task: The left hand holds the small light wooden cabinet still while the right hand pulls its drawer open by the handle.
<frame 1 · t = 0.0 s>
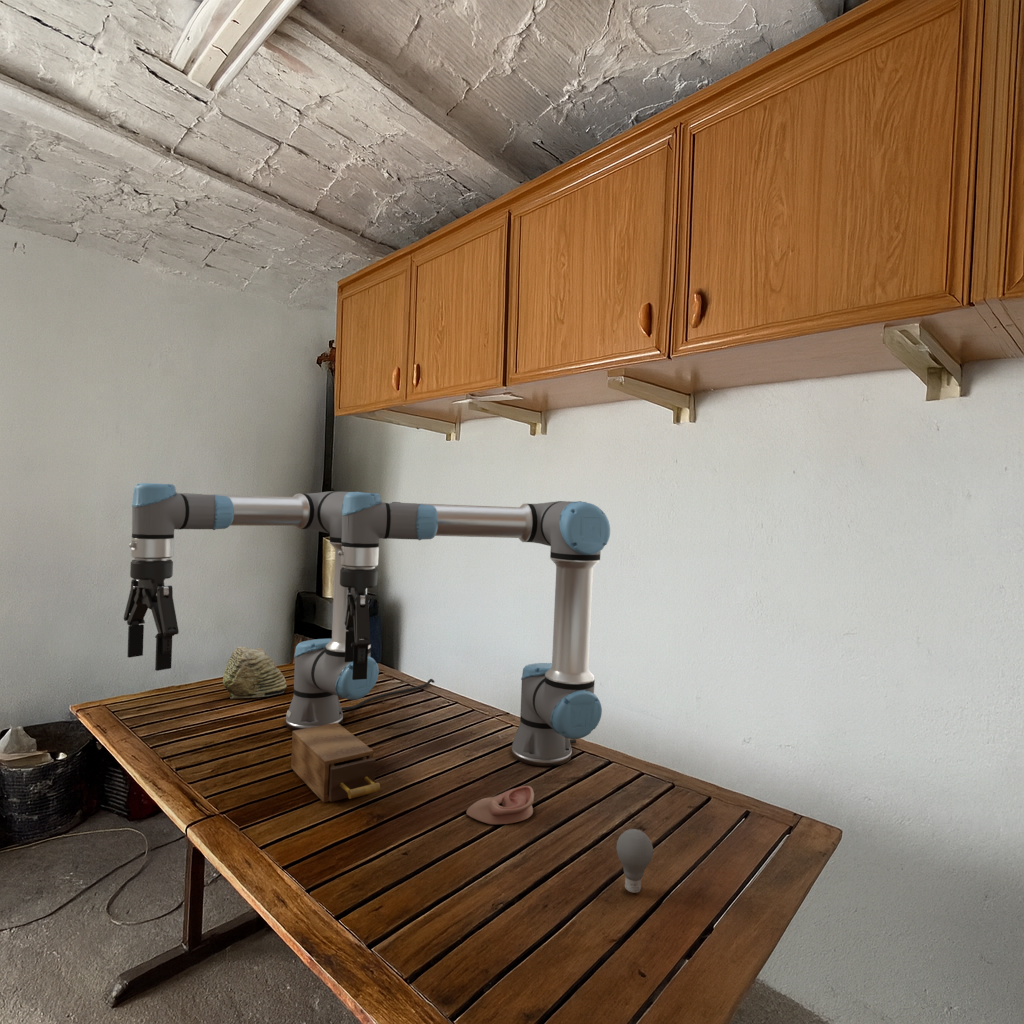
left hand: (148, 662, 129), 28 cm above the table, tool pointing down, fingers open, 13 cm apart
right hand: (355, 670, 131), 28 cm above the table, tool pointing down, fingers open, 13 cm apart
anatomical model: (500, 812, 130), on the table
light bulb: (632, 891, 106), on the table
cabinet: (330, 778, 143), on the table
fossil: (254, 694, 198), on the table
drawer: (341, 769, 138), point 4 cm above the table, slide at 1.2 cm
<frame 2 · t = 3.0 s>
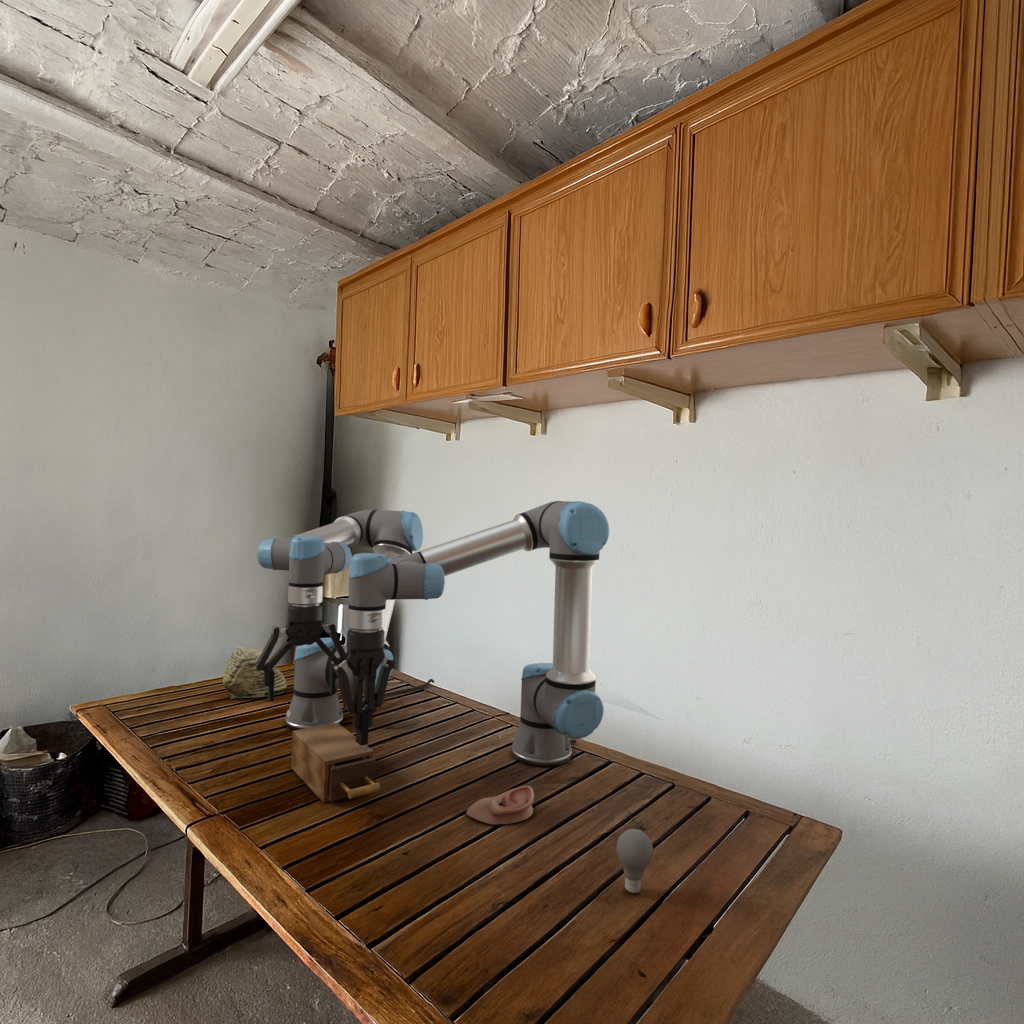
left hand: (301, 696, 145), 17 cm above the table, tool pointing down, fingers open, 13 cm apart
right hand: (361, 742, 130), 13 cm above the table, tool pointing down, fingers closed
nothing on the table moved.
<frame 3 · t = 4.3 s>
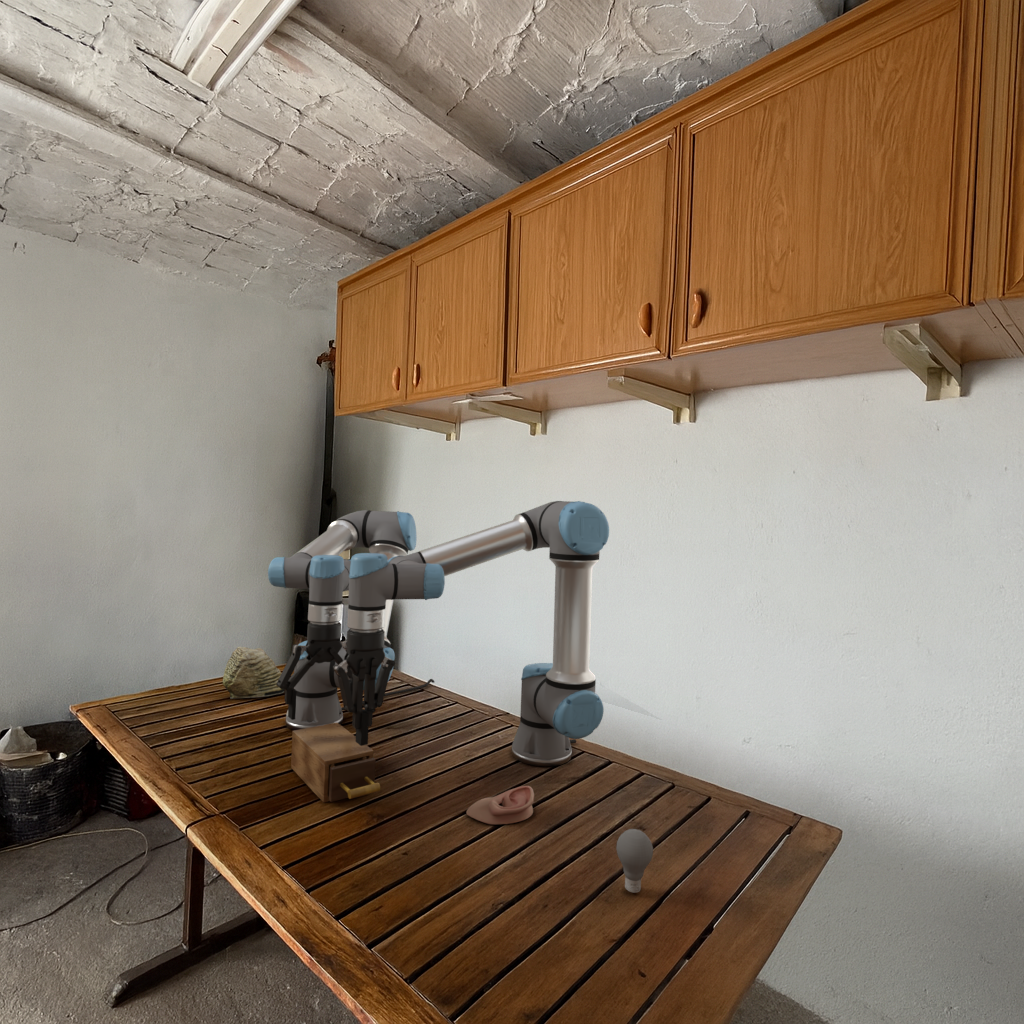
left hand: (320, 713, 147), 13 cm above the table, tool pointing down, fingers open, 13 cm apart
right hand: (361, 742, 130), 13 cm above the table, tool pointing down, fingers closed
nothing on the table moved.
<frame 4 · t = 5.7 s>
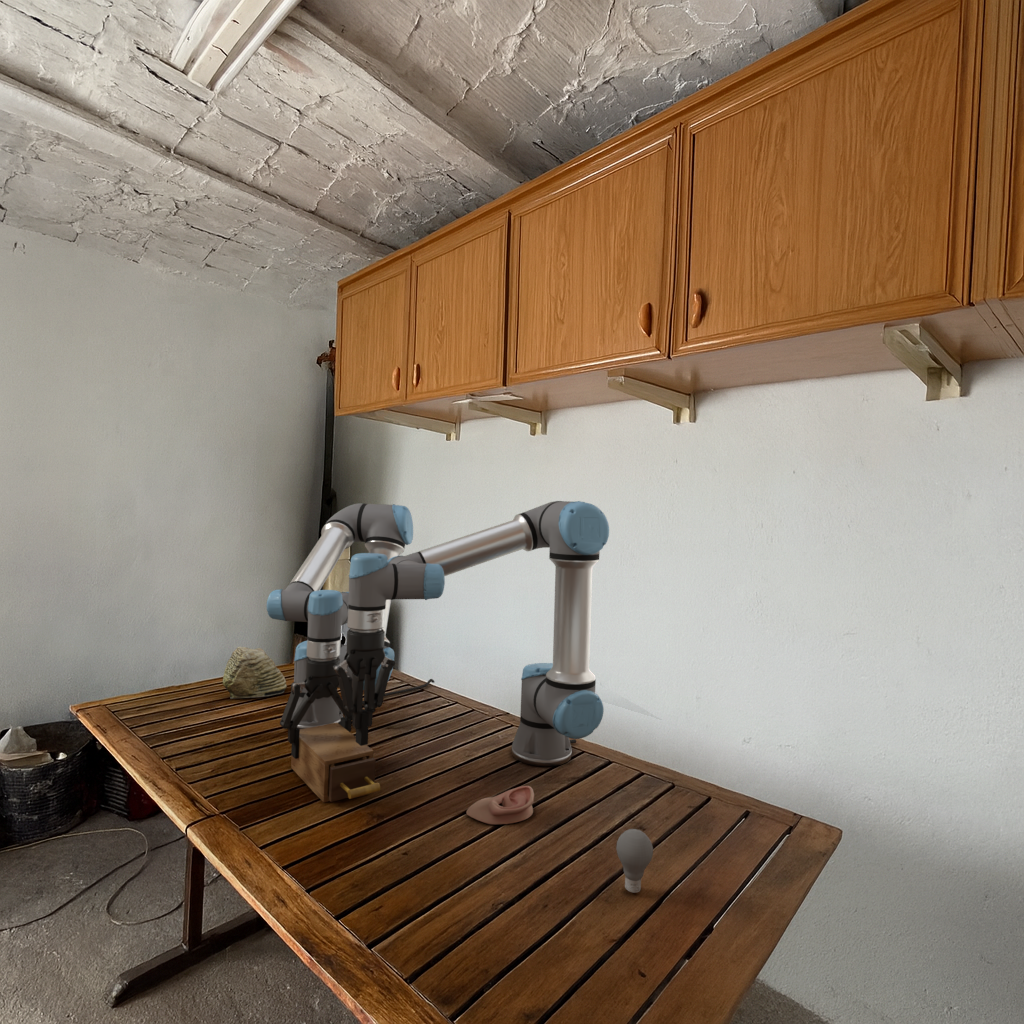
left hand: (319, 751, 148), 4 cm above the table, tool pointing down, fingers closed on cabinet, 11 cm apart
right hand: (361, 742, 130), 13 cm above the table, tool pointing down, fingers closed
cabinet: (330, 778, 143), on the table, touching left hand
everything else where it was.
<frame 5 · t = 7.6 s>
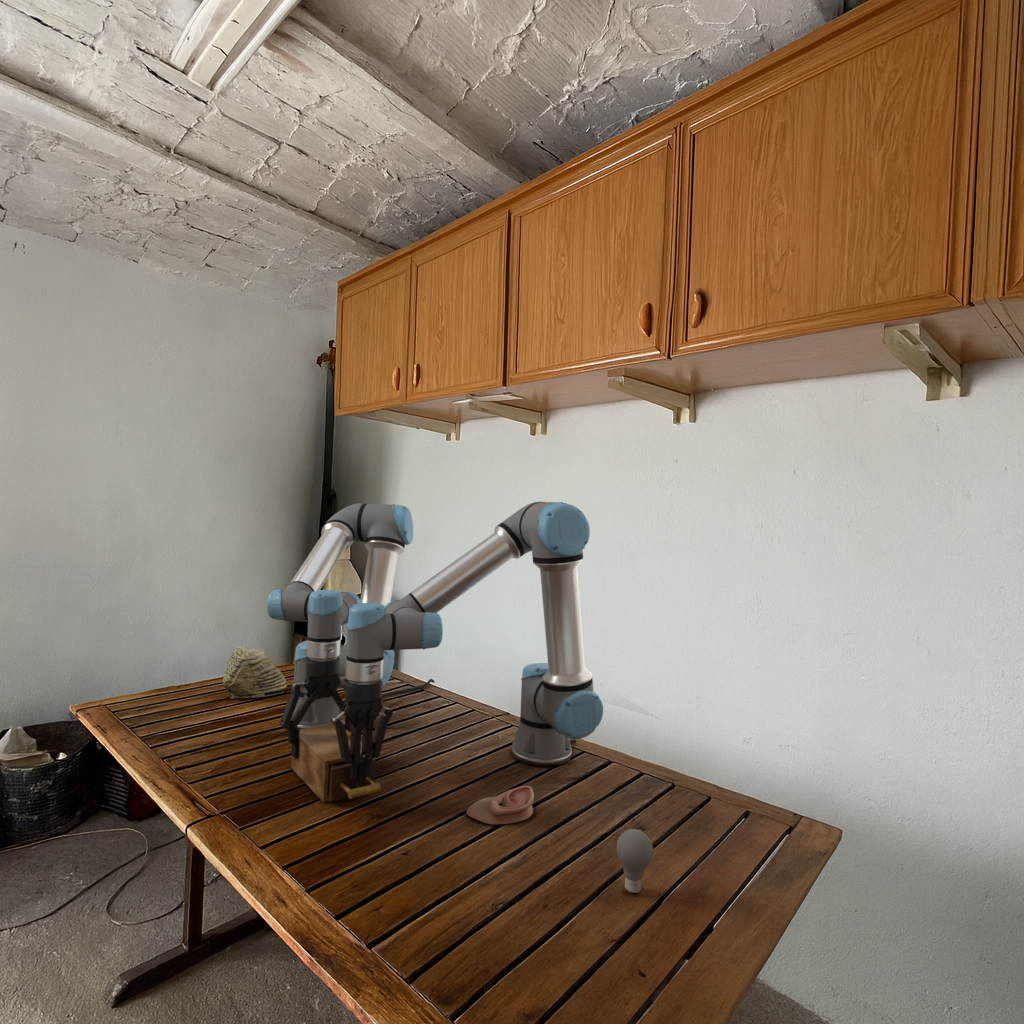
left hand: (319, 751, 148), 4 cm above the table, tool pointing down, fingers closed on cabinet, 11 cm apart
right hand: (359, 793, 130), 3 cm above the table, tool pointing down, fingers closed
cabinet: (330, 778, 143), on the table, touching left hand
drawer: (341, 769, 138), point 4 cm above the table, slide at 1.2 cm, touching right hand
everything else where it was.
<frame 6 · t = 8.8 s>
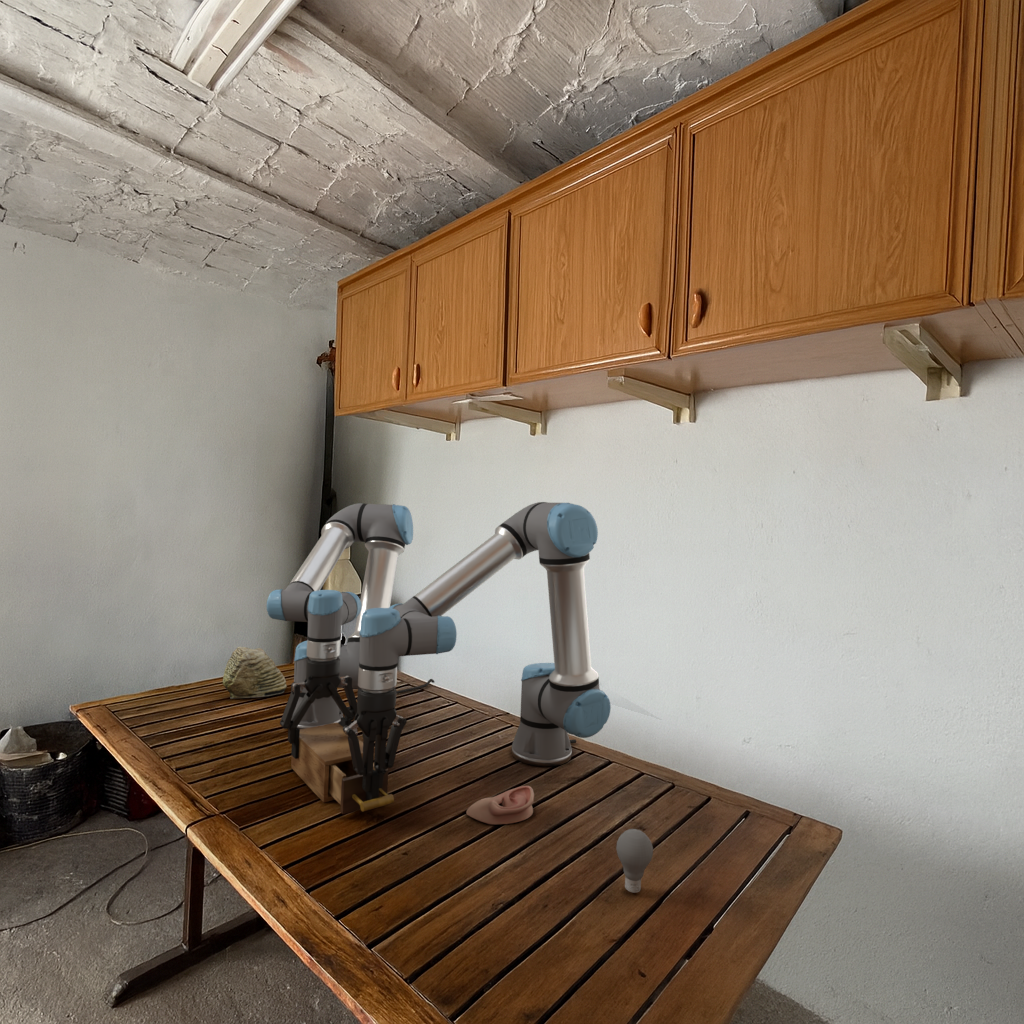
left hand: (319, 751, 148), 4 cm above the table, tool pointing down, fingers closed on cabinet, 11 cm apart
right hand: (371, 805, 126), 3 cm above the table, tool pointing down, fingers closed
cabinet: (330, 778, 142), on the table, touching left hand
drawer: (352, 779, 133), point 4 cm above the table, slide at 7.2 cm, touching right hand
everything else where it was.
when the left hand's fingers open (4 cm above the table, at t = 10.6 s): cabinet stays where it is, on the table.
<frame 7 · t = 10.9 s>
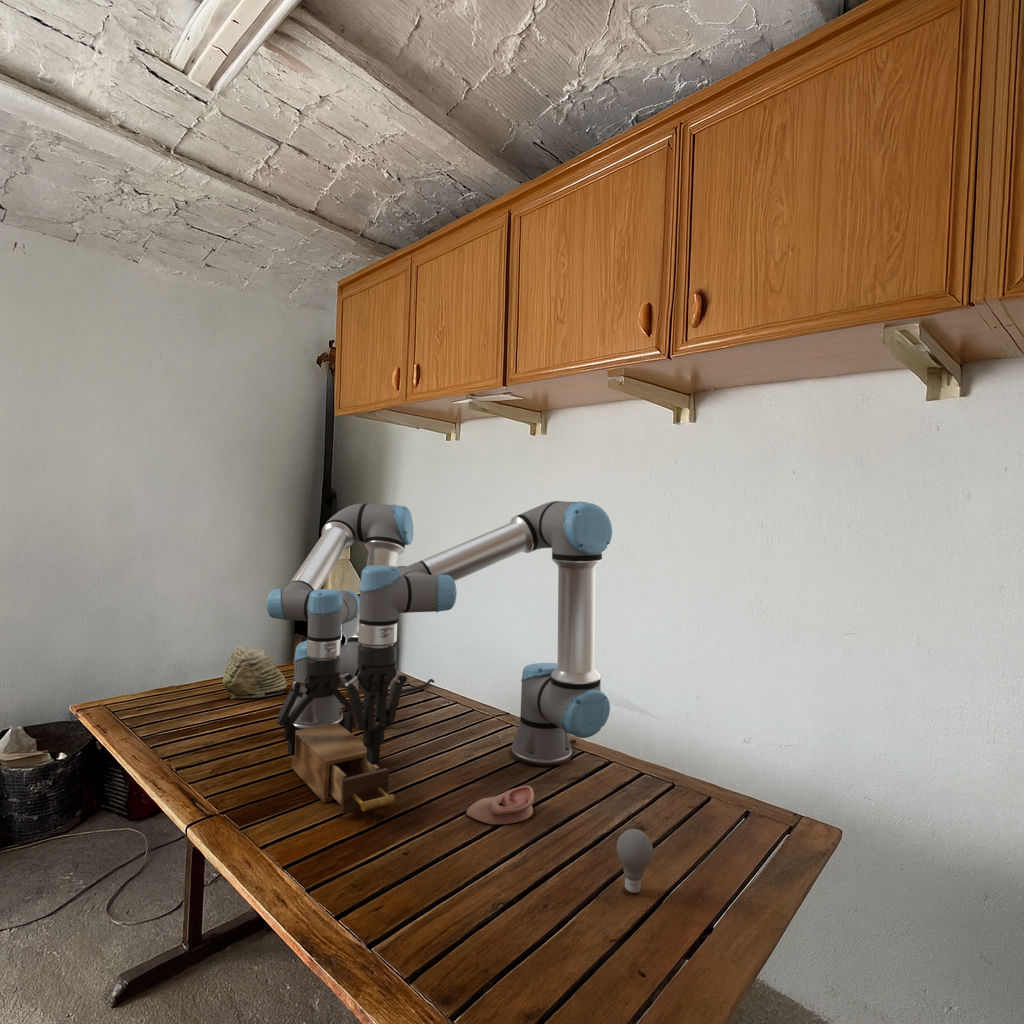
left hand: (320, 747, 148), 5 cm above the table, tool pointing down, fingers open, 13 cm apart
right hand: (372, 761, 126), 11 cm above the table, tool pointing down, fingers closed
cabinet: (330, 778, 142), on the table
drawer: (353, 779, 133), point 4 cm above the table, slide at 7.2 cm
everything else where it was.
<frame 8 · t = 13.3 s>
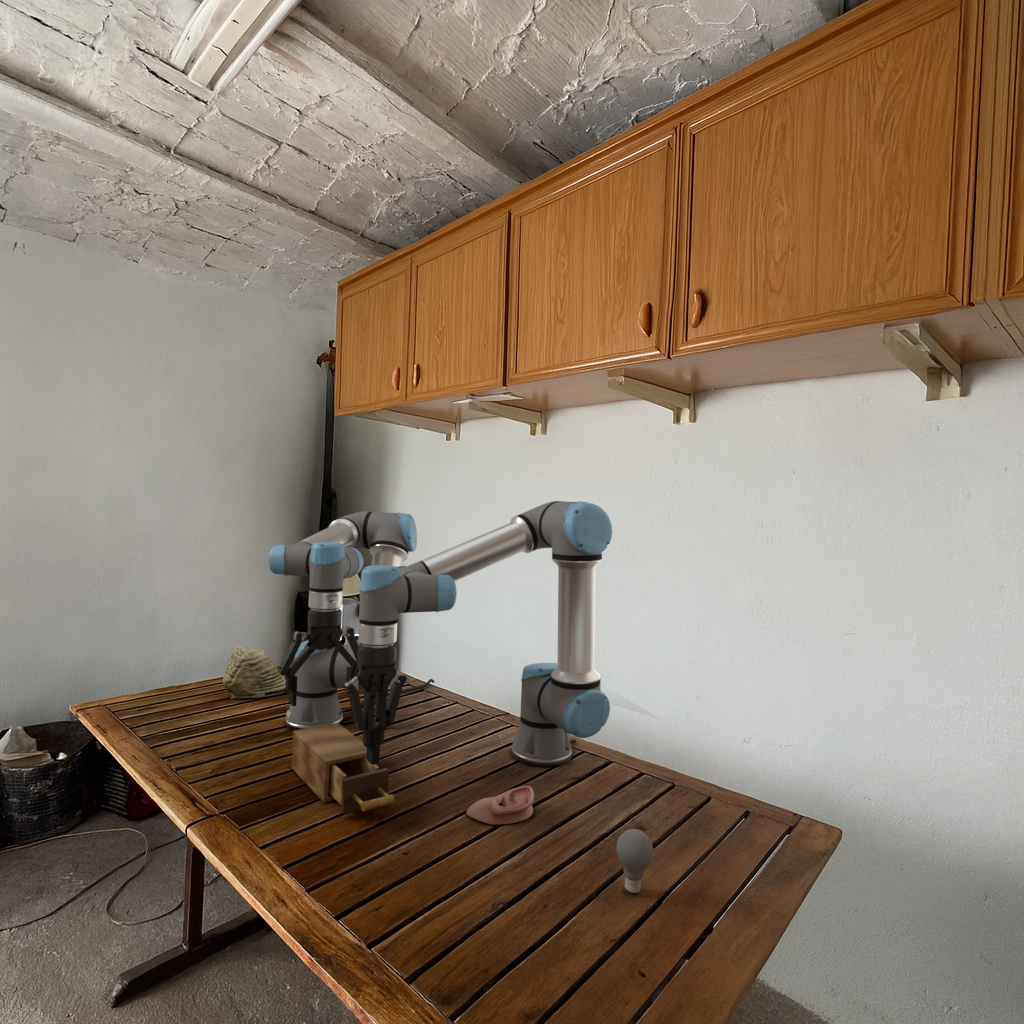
left hand: (321, 699, 148), 16 cm above the table, tool pointing down, fingers open, 13 cm apart
right hand: (372, 761, 126), 11 cm above the table, tool pointing down, fingers closed
nothing on the table moved.
at the end: drawer slide at 7.2 cm; cabinet tilted 0°; cabinet never tilted more than 1° during the clip; cabinet moved 0.2 cm from its start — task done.
